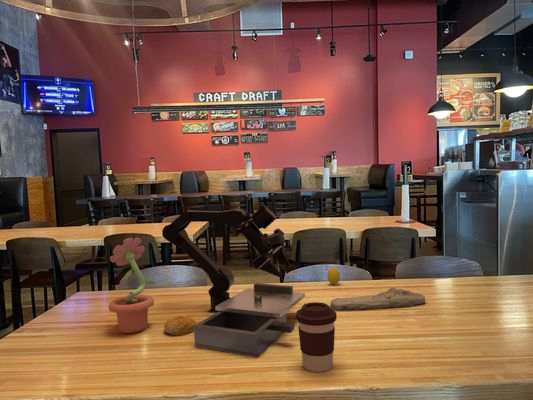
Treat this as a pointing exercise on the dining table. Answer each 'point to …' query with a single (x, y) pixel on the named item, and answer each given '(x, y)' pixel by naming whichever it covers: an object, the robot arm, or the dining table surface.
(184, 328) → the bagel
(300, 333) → the coffee cup
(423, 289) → the dining table surface
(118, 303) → the decorative flower
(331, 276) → the lemon
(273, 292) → the lid
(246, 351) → the grey metal box
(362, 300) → the elongated rock
